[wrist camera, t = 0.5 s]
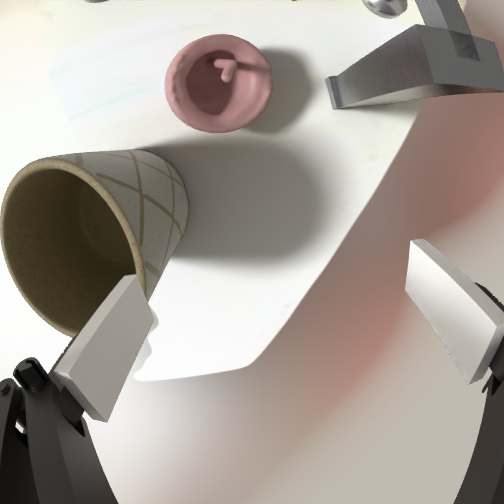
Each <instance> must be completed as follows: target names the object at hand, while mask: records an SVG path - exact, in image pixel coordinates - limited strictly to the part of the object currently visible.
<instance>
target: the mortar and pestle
mask: <svg viewBox="0 0 504 504" xmlns="http://www.w3.org/2000/svg"><path fill="white" fill-rule="evenodd" d="M271 90H272V74H271V69H270V66H269V64H268V62H267V61H266V59H265V57H264V56H263V54H262V53H261V52H260V51H259V50H258V49H257V48H256V47H255V46H254V45H252V44H251V43H249V42H248V41H246V40H244V39H241V38H239V37H236V36H232V35H226V34H217V35H210V36H206V37H203V38H200V39H198V40H195V41H193V42H192V43H190V44H188V45H187V46H185V47H184V48H183V49H182V50H181V51H180V52H179V53H178V54H177V55H176V56H175V57H174V59H173V60H172V62H171V64H170V66H169V68H168V70H167V73H166V78H165V93H166V98H167V101H168V103H169V106H170V107H171V109H172V111H173V112H174V114H175V115H176V116H177V117H178V118H179V119H180V120H181V121H182V122H184V123H185V124H187V125H188V126H190V127H192V128H194V129H197V130H200V131H204V132H208V133H225V132H231V131H234V130H237V129H240V128H242V127H244V126H246V125H247V124H249V123H250V122H252V121H253V120H254V119H255V118H256V117H257V116H258V115H259V114H260V113H261V112H262V110H263V109H264V108H265V106H266V104H267V103H268V100H269V98H270V94H271Z"/></svg>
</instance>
